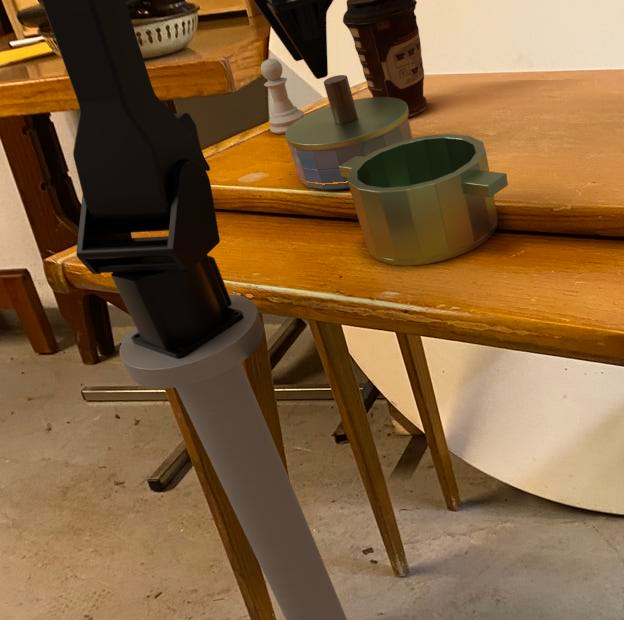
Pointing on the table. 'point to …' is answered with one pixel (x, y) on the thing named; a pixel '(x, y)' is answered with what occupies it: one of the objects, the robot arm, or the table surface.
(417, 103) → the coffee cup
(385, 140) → the pan
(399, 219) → the pot
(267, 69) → the chess piece
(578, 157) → the table surface
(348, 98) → the lid
